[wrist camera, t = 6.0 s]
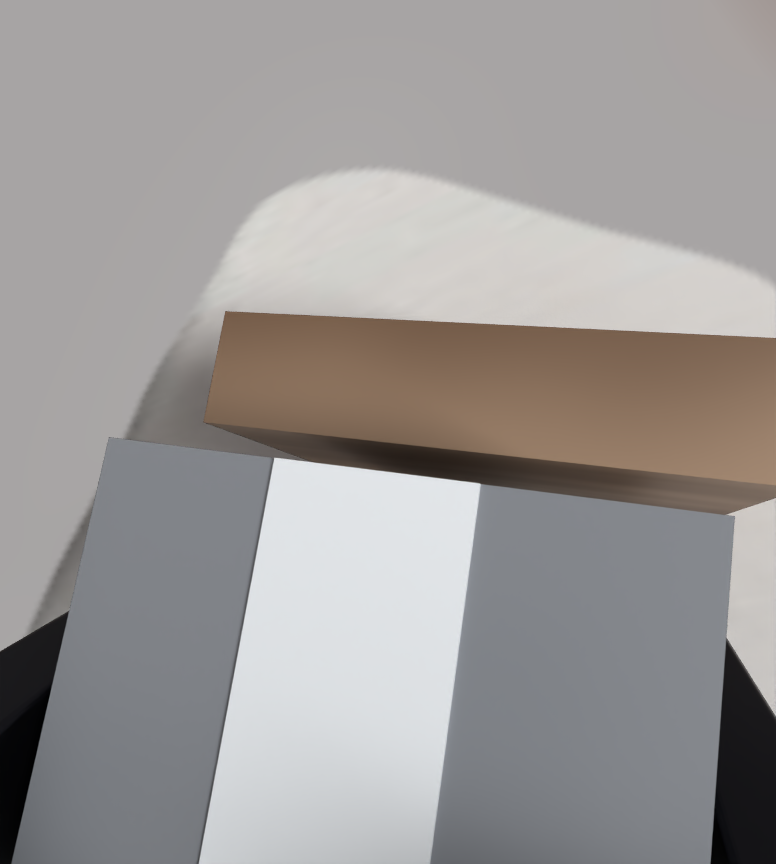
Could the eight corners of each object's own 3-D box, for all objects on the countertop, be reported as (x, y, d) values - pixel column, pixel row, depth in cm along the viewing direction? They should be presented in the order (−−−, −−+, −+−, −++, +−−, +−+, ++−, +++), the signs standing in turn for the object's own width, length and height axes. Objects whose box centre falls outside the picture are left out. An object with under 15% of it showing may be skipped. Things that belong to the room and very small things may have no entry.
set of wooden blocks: (662, 827, 17) (765, 1176, 7) (338, 741, 19) (105, 910, 10) (693, 455, 18) (812, 340, 9) (388, 424, 21) (225, 310, 11)
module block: (614, 788, 14) (683, 1282, 4) (349, 720, 15) (-14, 957, 6) (636, 549, 14) (737, 516, 5) (382, 512, 16) (105, 435, 7)
